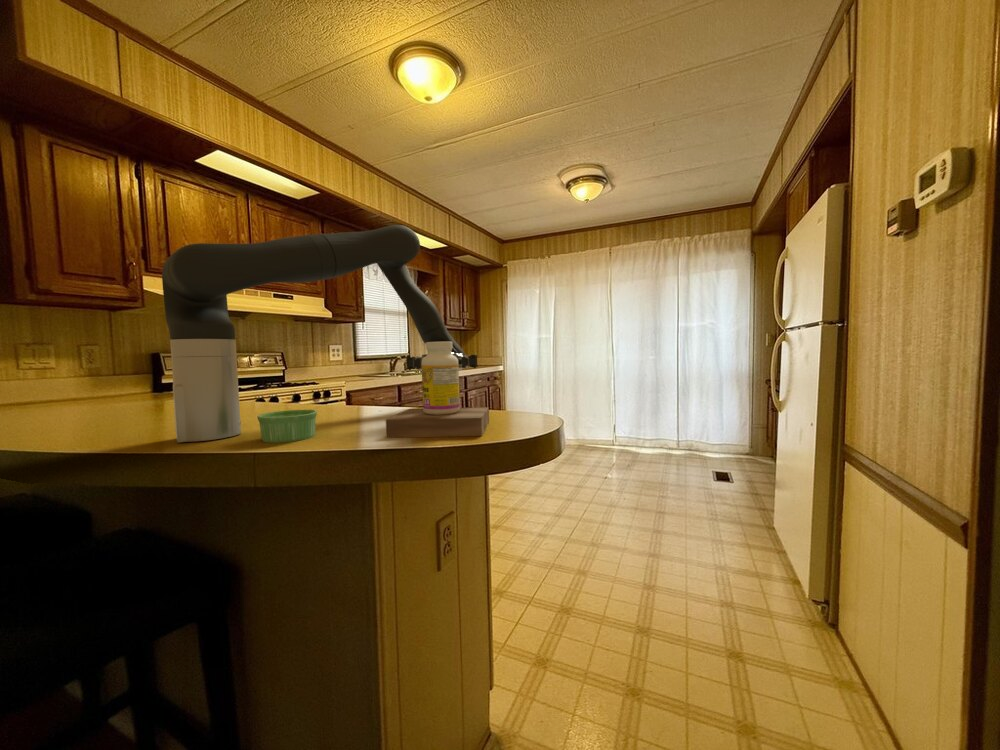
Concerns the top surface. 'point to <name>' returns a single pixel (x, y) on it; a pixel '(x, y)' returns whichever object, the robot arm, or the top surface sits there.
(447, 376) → the supplement bottle
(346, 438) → the top surface
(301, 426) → the ramekin
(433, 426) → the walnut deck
